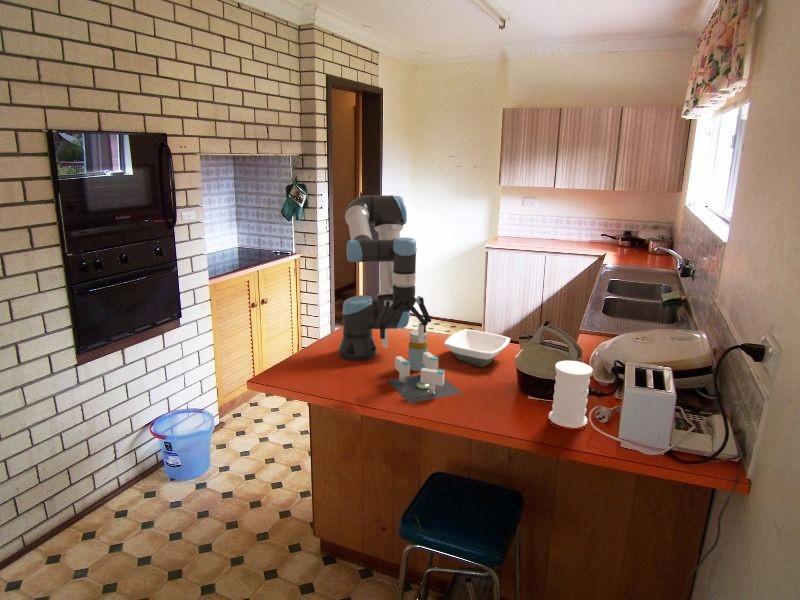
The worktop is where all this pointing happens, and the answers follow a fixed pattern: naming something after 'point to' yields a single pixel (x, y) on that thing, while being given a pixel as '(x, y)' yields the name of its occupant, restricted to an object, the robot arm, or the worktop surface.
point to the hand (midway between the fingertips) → (403, 344)
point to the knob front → (432, 378)
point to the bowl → (476, 346)
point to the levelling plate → (421, 389)
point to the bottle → (417, 351)
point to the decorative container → (570, 394)
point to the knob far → (430, 361)
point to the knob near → (402, 368)
